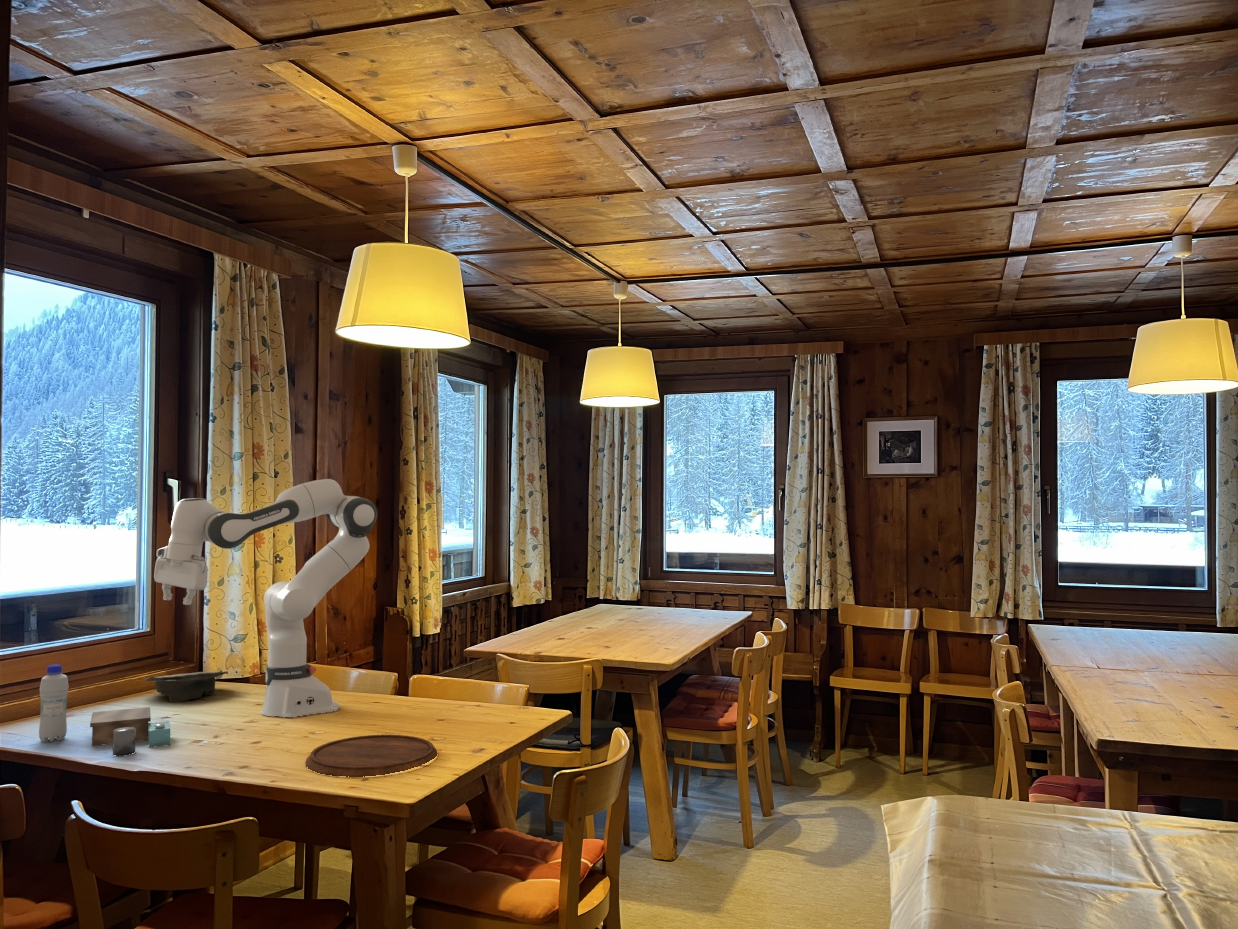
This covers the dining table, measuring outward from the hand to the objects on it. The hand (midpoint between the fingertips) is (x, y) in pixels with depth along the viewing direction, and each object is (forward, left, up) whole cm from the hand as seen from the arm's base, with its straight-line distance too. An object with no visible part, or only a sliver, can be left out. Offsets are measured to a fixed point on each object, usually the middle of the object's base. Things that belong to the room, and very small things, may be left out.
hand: (177, 602), depth 258 cm
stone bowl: (-5, -43, -36) cm, 56 cm away
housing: (+4, +16, -35) cm, 39 cm away
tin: (+12, +24, -35) cm, 44 cm away
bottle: (+29, +1, -35) cm, 46 cm away
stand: (+13, +6, -35) cm, 38 cm away
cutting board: (-43, +57, -36) cm, 80 cm away
